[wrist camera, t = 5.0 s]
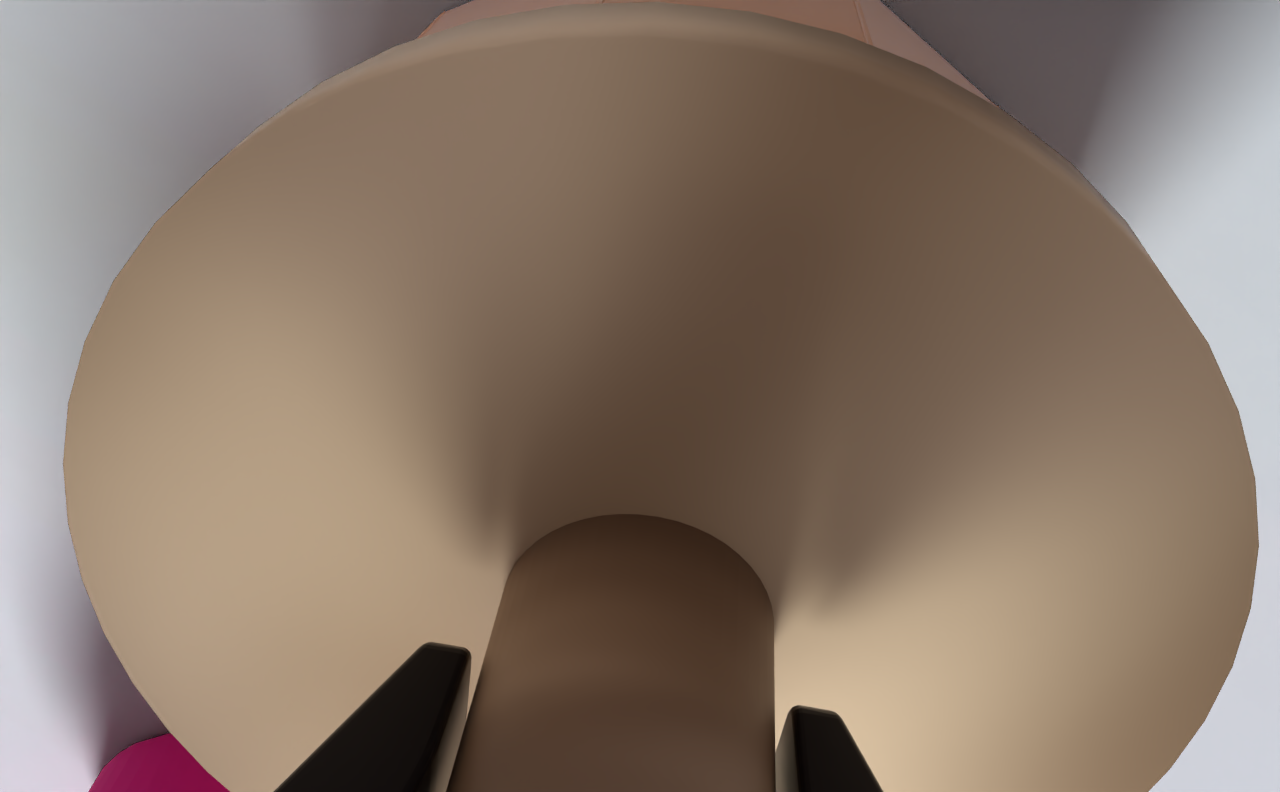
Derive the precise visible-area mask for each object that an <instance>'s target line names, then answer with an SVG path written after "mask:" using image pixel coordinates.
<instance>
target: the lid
mask: <svg viewBox="0 0 1280 792" xmlns="http://www.w3.org/2000/svg"><path fill="white" fill-rule="evenodd" d="M63 469H64V481H65V493H66V504H67V516H68V525H69V529H70V533H71V537H72V541H73V545H74V549H75V553H76V557H77V561H78V565H79V569H80V573H81V577H82V581H83V583H84V586H85V588H86V591H87V593H88V595H89V598H90V600H91V603H92V605H93V608H94V610H95V612H96V615H97V617H98V620H99V622H100V625H101V627H102V630H103V632H104V634H105V636H106V638H107V639H108V641H109V643H110V645H111V646H112V648H113V650H114V652H115V653H116V655H117V657H118V658H119V660H120V662H121V664H122V665H123V667H124V669H125V671H126V672H127V674H128V676H129V678H130V679H131V681H132V683H133V684H134V686H135V687H136V688H137V690H138V691H139V692H140V694H141V695H142V696H143V698H144V699H145V700H146V702H147V703H148V704H149V706H150V707H151V708H152V710H153V711H154V712H155V714H156V715H157V716H158V718H159V719H160V720H161V722H162V723H163V724H164V726H165V727H166V728H167V729H168V731H169V732H170V733H171V734H172V735H173V736H174V737H175V738H176V739H177V740H178V741H179V742H180V743H181V744H182V745H183V747H184V748H185V749H186V750H187V751H188V752H189V753H190V754H191V755H192V756H193V757H194V758H195V759H196V760H197V761H198V762H199V763H200V765H201V766H202V767H203V768H204V769H205V770H206V771H207V772H208V773H209V774H210V775H212V776H213V777H214V778H215V779H216V780H217V781H219V782H220V783H221V784H222V785H223V786H224V787H225V788H227V789H228V790H229V791H230V792H273V791H274V790H275V789H276V788H277V787H278V786H279V785H280V784H281V783H283V782H284V781H285V780H286V779H287V778H288V777H289V776H290V775H291V774H292V773H293V772H294V771H295V770H296V769H297V768H298V767H299V766H300V765H301V764H302V763H303V762H304V761H305V760H306V759H307V758H308V757H309V756H310V755H311V754H312V753H313V752H314V751H315V750H316V749H317V748H318V747H319V746H320V745H321V744H322V743H323V742H324V741H325V740H326V739H327V738H328V737H329V736H330V735H331V734H332V733H333V732H334V731H335V730H336V729H337V728H338V727H339V726H340V725H341V724H342V723H343V722H344V721H345V720H346V719H347V718H348V717H349V716H350V715H351V714H352V713H353V712H354V711H355V710H356V709H357V708H358V707H359V706H360V705H361V704H362V703H363V702H364V701H365V700H366V699H367V698H368V697H369V696H370V695H371V694H372V693H373V692H374V691H375V690H376V689H377V688H379V687H380V686H381V685H382V684H383V683H384V682H385V681H386V680H387V679H388V678H389V677H390V676H391V675H392V674H393V673H394V672H395V671H396V670H397V669H398V668H399V667H400V666H401V665H402V664H403V663H404V662H405V661H406V660H407V659H408V658H409V657H410V656H411V655H412V654H413V653H414V652H415V651H416V650H417V649H418V648H419V647H420V646H421V645H423V644H425V643H427V642H436V643H442V644H448V645H454V646H459V647H465V648H467V649H468V650H469V651H470V653H471V657H472V660H471V674H470V685H469V696H468V708H467V717H466V723H465V727H464V730H463V734H462V737H461V741H460V744H459V748H458V751H457V755H456V758H455V762H454V765H453V769H452V772H451V776H450V779H449V783H448V786H447V790H446V792H776V767H775V752H776V749H777V746H778V742H779V739H780V736H781V733H782V730H783V726H784V723H785V720H786V717H787V714H788V712H789V710H790V709H791V708H792V707H794V706H796V705H802V706H808V707H814V708H819V709H825V710H831V711H834V712H836V713H837V714H838V715H839V716H840V717H841V718H842V720H843V721H844V723H845V725H846V726H847V728H848V730H849V732H850V733H851V735H852V737H853V739H854V741H855V742H856V744H857V746H858V748H859V749H860V751H861V753H862V755H863V756H864V758H865V760H866V762H867V764H868V765H869V767H870V769H871V771H872V772H873V774H874V776H875V778H876V779H877V781H878V783H879V785H880V786H881V788H882V790H883V792H1148V791H1149V790H1150V789H1151V788H1152V787H1153V786H1154V785H1155V784H1156V783H1157V782H1158V781H1159V780H1160V779H1161V778H1162V777H1163V776H1164V775H1165V774H1166V773H1167V771H1168V770H1169V769H1170V768H1171V767H1172V765H1173V764H1174V763H1175V761H1176V760H1177V759H1178V757H1179V756H1180V754H1181V753H1182V752H1183V750H1184V749H1185V747H1186V746H1187V745H1188V743H1189V742H1190V741H1191V739H1192V738H1193V736H1194V735H1195V734H1196V732H1197V731H1198V729H1199V728H1200V727H1201V725H1202V724H1203V723H1204V721H1205V719H1206V718H1207V716H1208V714H1209V712H1210V710H1211V708H1212V706H1213V704H1214V702H1215V700H1216V698H1217V696H1218V694H1219V692H1220V690H1221V688H1222V686H1223V684H1224V682H1225V680H1226V678H1227V676H1228V674H1229V672H1230V670H1231V668H1232V666H1233V663H1234V660H1235V657H1236V654H1237V650H1238V647H1239V644H1240V641H1241V638H1242V634H1243V631H1244V628H1245V625H1246V622H1247V619H1248V615H1249V612H1250V609H1251V602H1252V595H1253V587H1254V579H1255V571H1256V564H1257V556H1258V548H1259V540H1258V521H1257V503H1256V485H1255V476H1254V472H1253V468H1252V464H1251V460H1250V456H1249V452H1248V448H1247V444H1246V440H1245V435H1244V431H1243V427H1242V423H1241V419H1240V415H1239V411H1238V409H1237V407H1236V404H1235V402H1234V400H1233V398H1232V395H1231V393H1230V391H1229V389H1228V386H1227V384H1226V382H1225V380H1224V377H1223V375H1222V373H1221V371H1220V368H1219V366H1218V364H1217V362H1216V359H1215V357H1214V355H1213V353H1212V351H1211V348H1210V346H1209V344H1208V342H1207V340H1206V339H1205V338H1204V336H1203V335H1202V333H1201V332H1200V330H1199V329H1198V327H1197V326H1196V324H1195V323H1194V321H1193V320H1192V318H1191V317H1190V315H1189V314H1188V312H1187V311H1186V309H1185V308H1184V306H1183V305H1182V303H1181V302H1180V300H1179V299H1178V297H1177V296H1176V294H1175V293H1174V292H1173V290H1172V289H1171V287H1170V286H1169V284H1168V283H1167V281H1166V280H1165V278H1164V277H1163V275H1162V274H1161V272H1160V271H1159V269H1158V268H1157V266H1156V265H1155V263H1154V262H1153V260H1152V259H1151V257H1150V256H1149V254H1148V253H1147V251H1146V250H1145V248H1144V247H1143V246H1142V244H1141V243H1140V241H1139V240H1138V238H1137V237H1136V235H1135V234H1134V232H1133V231H1132V229H1131V228H1130V226H1129V225H1128V223H1127V222H1126V221H1125V220H1124V219H1123V218H1122V217H1121V215H1120V214H1119V213H1118V212H1117V211H1116V210H1115V209H1114V208H1113V207H1112V206H1111V205H1110V204H1109V203H1108V202H1107V201H1106V199H1105V198H1104V197H1103V196H1102V195H1101V194H1100V193H1099V192H1098V191H1097V190H1096V189H1095V188H1094V187H1093V186H1092V185H1091V184H1090V182H1089V181H1088V180H1087V179H1086V178H1085V177H1084V176H1083V175H1082V174H1081V173H1080V172H1079V171H1078V170H1077V169H1076V168H1075V166H1074V165H1073V164H1072V163H1070V162H1069V161H1068V160H1067V159H1065V158H1064V157H1063V156H1061V155H1060V154H1059V153H1058V152H1056V151H1055V150H1054V149H1052V148H1051V147H1050V146H1049V145H1047V144H1046V143H1045V142H1043V141H1042V140H1041V139H1040V138H1038V137H1037V136H1036V135H1035V134H1033V133H1032V132H1031V131H1029V130H1028V129H1027V128H1026V127H1024V126H1023V125H1022V124H1020V123H1019V122H1018V121H1017V120H1015V119H1014V118H1013V117H1012V116H1010V115H1009V114H1008V113H1006V112H1005V111H1003V110H1002V109H1000V108H998V107H996V106H995V105H993V104H991V103H989V102H988V101H986V100H984V99H982V98H981V97H979V96H977V95H975V94H973V93H972V92H970V91H968V90H966V89H965V88H963V87H961V86H959V85H958V84H956V83H954V82H952V81H951V80H949V79H947V78H945V77H944V76H942V75H940V74H938V73H937V72H935V71H933V70H931V69H930V68H928V67H925V66H923V65H920V64H918V63H915V62H913V61H910V60H907V59H905V58H902V57H900V56H897V55H895V54H892V53H890V52H887V51H885V50H882V49H880V48H877V47H875V46H872V45H870V44H867V43H864V42H862V41H859V40H857V39H854V38H852V37H849V36H847V35H844V34H841V33H837V32H833V31H829V30H825V29H821V28H817V27H813V26H808V25H804V24H800V23H796V22H792V21H788V20H784V19H780V18H776V17H772V16H768V15H763V14H759V13H755V12H751V11H741V10H732V9H722V8H712V7H703V6H693V5H684V4H674V3H665V2H636V3H603V4H571V5H561V6H555V7H549V8H543V9H537V10H531V11H525V12H519V13H514V14H508V15H502V16H496V17H490V18H484V19H478V20H475V21H471V22H468V23H465V24H462V25H459V26H456V27H453V28H450V29H446V30H443V31H440V32H437V33H434V34H431V35H428V36H425V37H422V38H418V39H415V40H412V41H409V42H406V43H403V44H400V45H397V46H394V47H392V48H390V49H388V50H386V51H384V52H382V53H380V54H378V55H376V56H374V57H372V58H370V59H368V60H366V61H364V62H361V63H359V64H357V65H355V66H353V67H351V68H349V69H347V70H345V71H343V72H341V73H339V74H337V75H335V76H333V77H331V78H329V79H327V80H325V81H323V82H321V83H320V84H318V85H317V86H315V87H314V88H313V89H311V90H310V91H308V92H307V93H305V94H304V95H303V96H301V97H300V98H298V99H297V100H296V101H294V102H293V103H291V104H290V105H288V106H287V107H286V108H284V109H283V110H281V111H280V112H278V113H277V114H276V115H274V116H273V117H271V118H270V119H268V120H267V121H266V122H264V123H263V124H261V125H260V126H259V127H257V128H256V129H255V130H254V131H253V132H252V133H251V134H249V135H248V136H247V137H246V138H245V139H244V140H243V141H241V142H240V143H239V144H238V145H237V146H236V147H235V148H234V149H232V150H231V151H230V152H229V153H228V154H227V155H226V156H224V157H223V158H222V159H221V160H220V161H219V162H218V163H216V164H215V165H214V166H213V167H212V168H211V169H210V170H209V171H208V172H207V173H206V174H205V175H204V176H203V177H201V178H200V179H199V180H198V181H197V182H196V183H195V184H194V185H193V186H192V187H191V188H190V189H189V190H188V191H187V192H186V193H185V194H184V195H183V196H182V197H181V198H180V199H179V200H178V201H177V202H176V203H175V204H174V205H173V206H172V207H171V208H170V209H169V210H168V211H167V212H166V213H165V214H164V215H163V216H162V217H161V218H160V219H159V220H158V221H157V222H156V223H155V224H154V225H153V227H152V228H151V229H150V231H149V232H148V234H147V235H146V236H145V238H144V239H143V241H142V242H141V243H140V245H139V246H138V248H137V249H136V250H135V252H134V253H133V255H132V256H131V257H130V259H129V260H128V261H127V263H126V264H125V266H124V267H123V268H122V270H121V271H120V273H119V274H118V275H117V277H116V278H115V280H114V281H113V283H112V285H111V287H110V289H109V292H108V294H107V296H106V298H105V300H104V302H103V304H102V306H101V308H100V311H99V313H98V315H97V317H96V319H95V321H94V323H93V325H92V327H91V330H90V332H89V334H88V336H87V338H86V340H85V343H84V346H83V350H82V354H81V357H80V361H79V365H78V369H77V372H76V376H75V380H74V384H73V387H72V391H71V395H70V399H69V402H68V412H67V424H66V436H65V447H64V459H63Z"/></svg>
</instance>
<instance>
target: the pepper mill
mask: <svg viewBox="0 0 1280 792" xmlns="http://www.w3.org/2000/svg"><path fill="white" fill-rule="evenodd" d="M89 792H230V791H229V790H228V789H227V788H225V787H224V786H223V785H222V784H221V783H220V782H219V781H217V780H216V779H215V778H214V777H213V776H212V775H210V774H209V773H208V772H207V771H206V770H205V769H204V768H203V767H202V766H201V765H200V763H199V762H198V761H197V760H196V759H195V758H194V757H193V756H192V755H191V754H190V753H189V752H188V751H187V750H186V749H185V748H184V747H183V745H182V744H181V743H180V742H179V741H178V740H177V739H176V738H175V737H174V736H173V735H172V734H171V733H168V734H165V735H161V736H158V737H155V738H152V739H148V740H145V741H142V742H138V743H135V744H133V745H132V746H130V747H128V748H126V749H125V750H123V751H121V752H120V753H118V754H117V755H116V756H115V757H114V758H113V759H112V760H111V761H110V762H109V763H108V764H106V765H105V766H104V767H103V769H102V771H101V772H100V774H99V775H98V777H97V779H96V780H95V782H94V784H93V785H92V787H91V788H90V790H89Z"/></svg>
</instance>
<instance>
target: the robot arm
mask: <svg viewBox="0 0 1280 792" xmlns="http://www.w3.org/2000/svg"><path fill="white" fill-rule="evenodd" d="M471 660H472V657H471V653H470V651H469V650H468V649H467V648H465V647H459V646H454V645H448V644H442V643H436V642H427V643H425V644H423V645H421V646H420V647H419V648H418V649H417V650H416V651H415V652H414V653H413V654H412V655H411V656H410V657H409V658H408V659H407V660H406V661H405V662H404V663H403V664H402V665H401V666H400V667H399V668H398V669H397V670H396V671H395V672H394V673H393V674H392V675H391V676H390V677H389V678H388V679H387V680H386V681H385V682H384V683H383V684H382V685H381V686H380V687H379V688H377V689H376V690H375V691H374V692H373V693H372V694H371V695H370V696H369V697H368V698H367V699H366V700H365V701H364V702H363V703H362V704H361V705H360V706H359V707H358V708H357V709H356V710H355V711H354V712H353V713H352V714H351V715H350V716H349V717H348V718H347V719H346V720H345V721H344V722H343V723H342V724H341V725H340V726H339V727H338V728H337V729H336V730H335V731H334V732H333V733H332V734H331V735H330V736H329V737H328V738H327V739H326V740H325V741H324V742H323V743H322V744H321V745H320V746H319V747H318V748H317V749H316V750H315V751H314V752H313V753H312V754H311V755H310V756H309V757H308V758H307V759H306V760H305V761H304V762H303V763H302V764H301V765H300V766H299V767H298V768H297V769H296V770H295V771H294V772H293V773H292V774H291V775H290V776H289V777H288V778H287V779H286V780H285V781H284V782H283V783H281V784H280V785H279V786H278V787H277V788H276V789H275V790H274V791H273V792H446V790H447V786H448V783H449V779H450V776H451V772H452V769H453V765H454V762H455V758H456V755H457V751H458V748H459V744H460V741H461V737H462V734H463V730H464V727H465V723H466V717H467V708H468V696H469V685H470V674H471ZM775 767H776V792H883V790H882V788H881V786H880V785H879V783H878V781H877V779H876V778H875V776H874V774H873V772H872V771H871V769H870V767H869V765H868V764H867V762H866V760H865V758H864V756H863V755H862V753H861V751H860V749H859V748H858V746H857V744H856V742H855V741H854V739H853V737H852V735H851V733H850V732H849V730H848V728H847V726H846V725H845V723H844V721H843V720H842V718H841V717H840V716H839V715H838V714H837V713H836V712H834V711H831V710H825V709H819V708H814V707H808V706H802V705H796V706H794V707H792V708H791V709H790V710H789V712H788V714H787V717H786V720H785V723H784V726H783V730H782V733H781V736H780V739H779V742H778V746H777V749H776V752H775Z"/></svg>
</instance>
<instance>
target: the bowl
mask: <svg viewBox="0 0 1280 792" xmlns="http://www.w3.org/2000/svg"><path fill="white" fill-rule="evenodd" d="M636 2H665V3H674V4H684V5H693V6H703V7H712V8H722V9H732V10H741V11H751V12H755V13H759V14H763V15H768V16H772V17H776V18H780V19H784V20H788V21H792V22H796V23H800V24H804V25H808V26H813V27H817V28H821V29H825V30H829V31H833V32H837V33H841V34H844V35H847V36H849V37H852V38H854V39H857V40H859V41H862V42H864V43H867V44H870V45H872V46H875V47H877V48H880V49H882V50H885V51H887V52H890V53H892V54H895V55H897V56H900V57H902V58H905V59H907V60H910V61H913V62H915V63H918V64H920V65H923V66H925V67H928V68H930V69H931V70H933V71H935V72H937V73H938V74H940V75H942V76H944V77H945V78H947V79H949V80H951V81H952V82H954V83H956V84H958V85H959V86H961V87H963V88H965V89H966V90H968V91H970V92H972V93H973V94H975V95H977V96H979V97H981V98H982V99H984V100H986V101H988V102H989V103H991V104H993V105H995V104H994V103H993V102H991V101H990V100H989V99H988V98H987V97H986V96H985V95H984V94H983V93H982V92H980V91H979V90H978V89H977V88H976V87H975V86H974V85H973V84H972V83H970V82H969V81H968V80H967V79H966V78H965V77H964V76H963V75H962V74H961V73H959V72H958V71H957V70H956V69H955V68H954V67H953V66H952V65H951V64H949V63H948V62H947V61H946V60H945V59H944V58H943V57H942V56H941V55H940V54H938V53H937V52H936V51H935V50H934V49H933V48H932V47H931V46H930V45H928V44H927V43H926V42H925V41H924V40H923V39H922V38H921V37H920V36H919V35H917V34H916V33H915V32H914V31H913V30H912V29H911V28H910V27H909V26H907V25H906V24H905V23H904V22H903V21H902V20H901V19H900V18H899V17H898V16H896V15H895V14H894V13H893V12H892V11H891V10H890V9H889V8H888V7H886V6H885V5H884V4H883V3H882V2H881V1H880V0H473V1H470V2H468V3H466V4H463V5H461V6H458V7H456V8H453V9H451V10H448V11H445V10H444V11H443V13H441V14H440V15H439V16H438V17H437V18H436V19H435V20H434V21H433V22H432V23H431V24H430V25H429V26H428V27H427V28H426V29H425V30H424V31H423V32H422V33H421V34H420V35H419V36H418V37H417V38H416V39H418V38H422V37H425V36H428V35H431V34H434V33H437V32H440V31H443V30H446V29H450V28H453V27H456V26H459V25H462V24H465V23H468V22H471V21H475V20H478V19H484V18H490V17H496V16H502V15H508V14H514V13H519V12H525V11H531V10H537V9H543V8H549V7H555V6H561V5H571V4H603V3H636ZM995 106H996V105H995ZM996 107H998V108H999V106H996Z"/></svg>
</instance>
